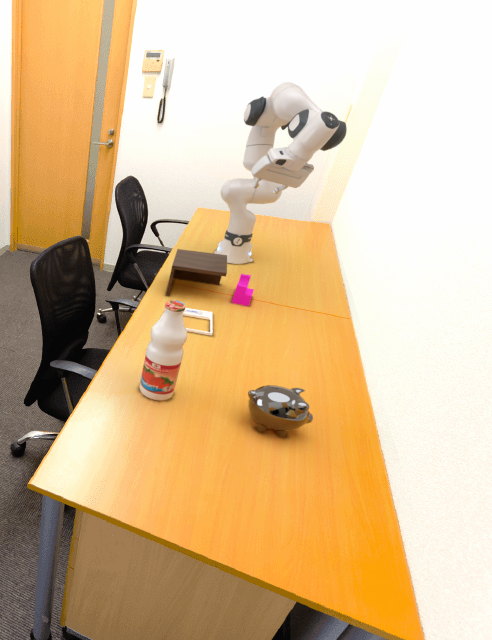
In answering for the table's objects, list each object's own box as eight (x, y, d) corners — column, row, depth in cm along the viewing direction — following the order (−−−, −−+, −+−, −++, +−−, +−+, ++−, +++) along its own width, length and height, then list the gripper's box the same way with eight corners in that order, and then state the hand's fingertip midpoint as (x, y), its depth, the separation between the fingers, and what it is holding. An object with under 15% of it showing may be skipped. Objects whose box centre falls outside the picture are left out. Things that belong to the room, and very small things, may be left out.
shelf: (171, 277, 197) (177, 248, 190) (219, 284, 190) (227, 255, 183) (165, 295, 179) (172, 265, 173) (218, 304, 172) (226, 273, 165)
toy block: (248, 306, 170) (254, 289, 167) (231, 302, 173) (236, 285, 169) (252, 293, 181) (257, 276, 177) (236, 289, 184) (241, 273, 180)
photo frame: (212, 311, 164) (212, 332, 149) (211, 314, 164) (211, 335, 150) (172, 305, 169) (168, 325, 154) (171, 307, 169) (168, 327, 155)
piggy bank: (308, 449, 103) (326, 412, 97) (239, 432, 108) (252, 396, 102) (300, 420, 112) (317, 385, 106) (237, 406, 117) (249, 371, 111)
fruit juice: (178, 391, 123) (201, 304, 109) (162, 406, 117) (184, 315, 103) (149, 377, 129) (167, 293, 114) (132, 390, 123) (149, 303, 109)
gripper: (314, 160, 157) (284, 190, 169) (266, 147, 154) (239, 178, 165) (320, 171, 154) (289, 201, 166) (271, 158, 151) (243, 189, 162)
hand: (264, 190), depth 165 cm, fingers open, 8 cm apart
